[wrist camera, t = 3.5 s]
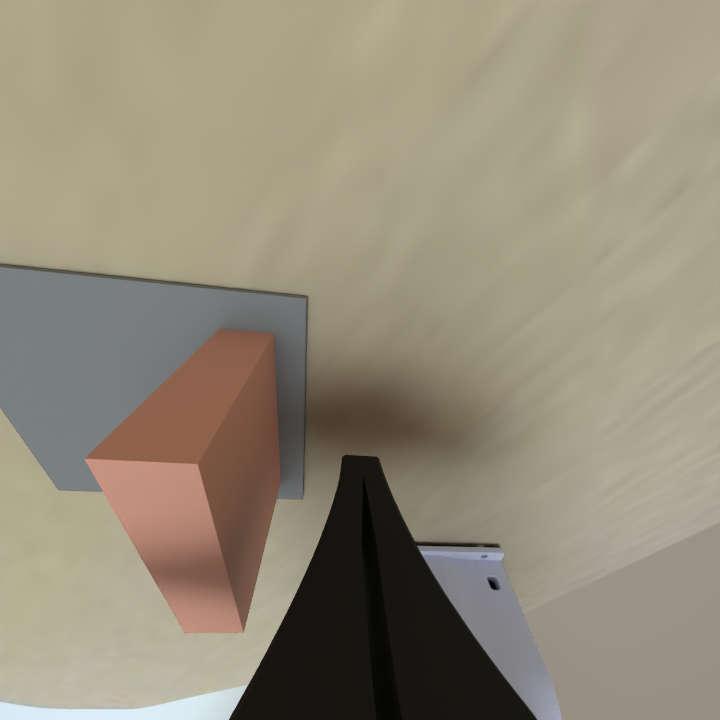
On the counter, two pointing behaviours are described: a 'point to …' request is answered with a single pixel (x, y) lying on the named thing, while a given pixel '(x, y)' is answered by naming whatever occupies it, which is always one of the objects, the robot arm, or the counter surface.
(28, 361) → the mat
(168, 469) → the block
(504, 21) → the counter surface
